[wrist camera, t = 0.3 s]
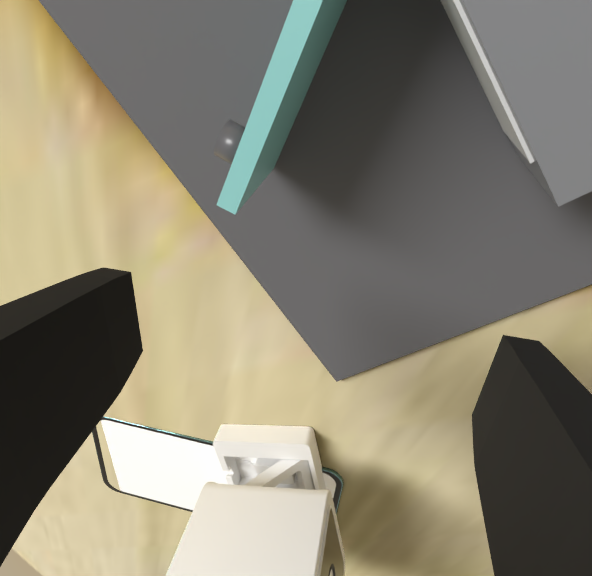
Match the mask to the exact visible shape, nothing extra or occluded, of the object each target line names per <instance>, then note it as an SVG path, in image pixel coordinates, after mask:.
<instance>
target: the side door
mask: <svg viewBox="0 0 592 576" xmlns="http://www.w3.org/2000/svg"><path fill="white" fill-rule="evenodd" d="M346 2H347V0H293V2H292V5H291V8H290V10H289V13H288V16H287V18H286V21H285V24H284V26H283V29H282V32H281V34H280V37H279V40H278V42H277V45H276V47H275V50H274V53H273V55H272V58H271V61H270V63H269V66H268V69H267V71H266V74H265V77H264V79H263V82H262V85H261V87H260V90H259V93H258V95H257V98H256V101H255V103H254V106H253V109H252V111H251V114H250V117H249V119H248V122H247V125H246V127H244V126H242V125H240V124H238V123H236V122H234V121H233V120H231V119H230V120H228V121H227V122H226V124H225V125H224V127H223V128H222V130H221V132H220V134H219V137H218V139H217V142H216V145H215V149H214V155H215V156H217V157H219V158H221V159H223V160H225V161H227V162H229V163H230V164H232V165H231V167H230V170H229V173H228V175H227V178H226V181H225V183H224V186H223V189H222V191H221V194H220V197H219V199H218V202H217V206H219V207H221V208H223V209H225V210H227V211H229V212H231V213H233V214H236V213H237V212H238V211H239V210H240V208H241V207H242V206H243V205H244V204H245V202H246V201H247V200H248V199H249V198H250V196H251V195H252V194H253V193H254V192H255V190H256V189H257V188H258V187H259V186H260V184H261V183H262V182H263V181H264V180H265V178H266V177H267V176H268V175H269V174H270V172H271V171H272V170H273V169H274V167H275V165H276V162H277V160H278V158H279V155H280V153H281V151H282V149H283V146H284V144H285V142H286V139H287V137H288V135H289V132H290V130H291V128H292V126H293V123H294V121H295V119H296V116H297V114H298V112H299V109H300V107H301V105H302V103H303V100H304V98H305V96H306V93H307V91H308V89H309V87H310V84H311V82H312V80H313V77H314V75H315V73H316V70H317V68H318V66H319V64H320V61H321V59H322V57H323V54H324V52H325V50H326V47H327V45H328V43H329V41H330V38H331V36H332V34H333V31H334V29H335V27H336V25H337V22H338V20H339V18H340V15H341V13H342V11H343V8H344V6H345V4H346Z"/></svg>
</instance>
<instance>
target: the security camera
mask: <svg viewBox="0 0 592 576" xmlns="http://www.w3.org/2000/svg"><path fill="white" fill-rule="evenodd" d="M213 446H214V449H215V451H216V454H217V457H218V459H219V462H220V464H221V467H222V470H223V471H227V472H228V473H227V475H226V476H225V477H226V480H227V483H228V484H218V483H215V482H207V483H206V484H205V485H204V486H203V488H202V490H201V493H200V495H199V497H198V500H197V502H196V505H195V507H194V509H193V512H192V514H191V516H190V519H189V521H188V524H187V526H186V528H185V531H184V533H183V536H182V538H181V540H180V543H179V545H178V547H177V550H176V552H175V555H174V557H173V559H172V562H171V564H170V566H169V569H168V571H167V574H166V576H345V553H344V549H343V544H342V539H341V535H340V530H339V526H338V521H337V516H336V512H335V507H334V502H333V498H332V493H331V491H330V490H329V489H326V486H325V482H324V477H323V473H322V465H321V460H320V456H319V451H318V447H317V442H316V438H315V433H314V430H313V428H311V427H309V426H280V425H244V424H222V425H221V426H220V428H219V430H218V432H217V435H216V437H215V439H214V441H213ZM248 457H250V458H256V459H257V460H256V463H253V462H251V461H249V460H242V459H240V458H248Z"/></svg>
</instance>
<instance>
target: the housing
mask: <svg viewBox="0 0 592 576" xmlns="http://www.w3.org/2000/svg"><path fill="white" fill-rule="evenodd" d="M440 1H441V3H442V5H443V7H444V9H445V11H446V13H447V15H448V17H449V19H450V21H451V23H452V26H453V28H454V30H455V32H456V34H457V36H458V38H459V40H460V42H461V44H462V46H463V48H464V50H465V53H466V55H467V57H468V59H469V61H470V63H471V65H472V67H473V69H474V71H475V73H476V75H477V77H478V80H479V82H480V84H481V86H482V88H483V90H484V92H485V94H486V96H487V98H488V100H489V102H490V104H491V107H492V109H493V111H494V113H495V115H496V117H497V119H498V121H499V123H500V125H501V127H502V129H503V131H504V133H505V134H506V135H507V136H508V138H509V140H510V142H511V144H512V146H513V148H514V150H515V152H516V154H517V155H518V156H519V158H520V159H521V160H522V161H523V163H524V164H525V165H526V166H527V168H528V169H529V170H530V171H531V173H532V174H533V175H534V177H535V178H536V179H537V180H538V182H539V183H540V184H541V185H542V187H543V188H544V189H545V190H546V192H547V193H548V194H549V195H550V197H551V198H552V199H553V201H554V202H555V203H556V204H557V206H558V207H559V206H561V205H563V204H565V203H568V202H570V201H572V200H574V199H576V198H578V197H581V196H583V195H585V194H587V193H589V192H591V191H592V0H440Z"/></svg>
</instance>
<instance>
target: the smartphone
mask: <svg viewBox="0 0 592 576" xmlns="http://www.w3.org/2000/svg"><path fill="white" fill-rule="evenodd" d="M101 423H102V426H103V430H104V433H105V437H106V441H107V444H108V448H109V451H110V455H111V458H112V462H113V465H114V469H115V472H116V476H117V479H118V483H119V486H120V490H121V491H119V490H117V489H115V488H114V487H112V486H111V485H110V484H109V482H108V480H107V476H106V471H105V467H104V462H103V458H102V453H101V448H100V444H99V439H98V435H97V430H96V426H95V428H94V429H93V431H92V433H93V438H94V442H95V446H96V451H97V455H98V460H99V464H100V468H101V473H102V477H103V481H104V483H105V484H106V485H107V486H108V487H109V488H111V489H112V490H114V491H117V492H120V493H123V494H127V495H131V496H135V497H138V498H142V499H146V500H150V501H153V502H157V503H161V504H164V505H168V506H172V507H176V508H179V509H183V510H187V511H190V512H193V509H194V507H195V505H196V502H197V500H198V497H199V495H200V493H201V490H202V488H203V486H204V485H205V484H206V483H207V482H215V483H218V484H228V483H227V480H226V477H225V476H226V475H227V473H228V472H227V471H223V470H222V467H221V464H220V462H219V459H218V457H217V454H216V451H215V449H214V446H213V442H212V441H208V440H203V439H199V438H195V437H190V436H186V435H182V434H177V433H173V432H169V431H164V430H160V429H156V428H151V427H147V426H143V425H138V424H134V423H129V422H125V421H121V420H116V419H112V418H107V417H102V418H101ZM240 459H242V460H249V461H251V462H253V463H256V460H257V459H256V458H250V457H248V458H240ZM322 473H323V477H324V482H325V486H326V489H329V490H330V491H331V493H332V498H333V502H334V507H335V512H336V513H337V509H338V505H339V501H340V497H341V492H342V488H343V479H342V477H341V476H340V475H339V474H338V473H337V472H335V471H334V470H331V469H329V468H325V467H322Z"/></svg>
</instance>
